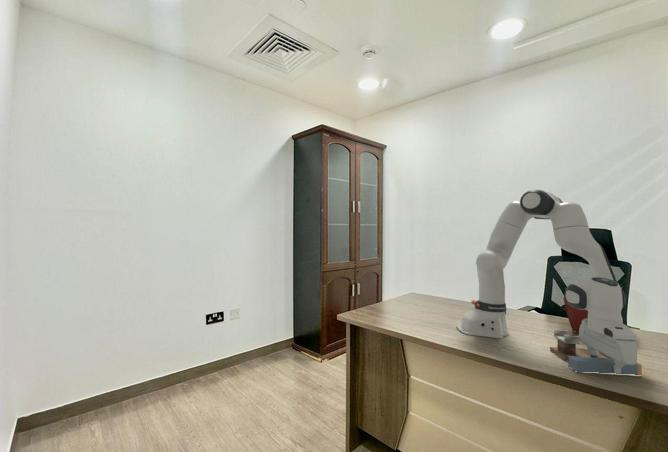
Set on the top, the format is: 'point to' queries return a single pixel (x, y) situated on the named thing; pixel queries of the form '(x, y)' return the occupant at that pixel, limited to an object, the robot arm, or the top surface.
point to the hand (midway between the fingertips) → (604, 366)
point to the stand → (570, 346)
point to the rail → (601, 365)
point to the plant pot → (575, 316)
